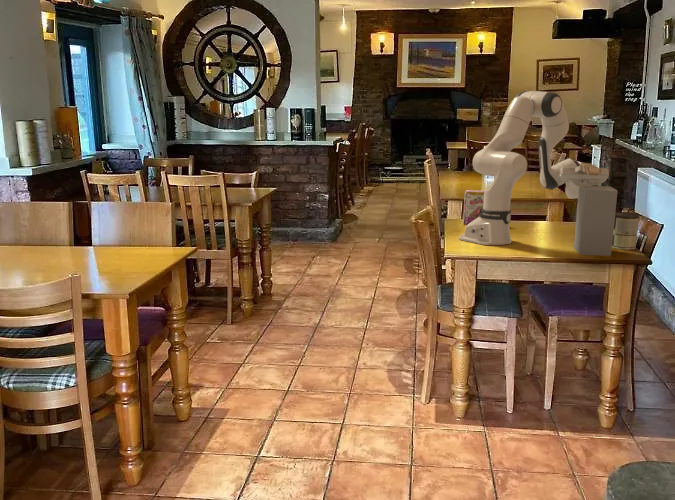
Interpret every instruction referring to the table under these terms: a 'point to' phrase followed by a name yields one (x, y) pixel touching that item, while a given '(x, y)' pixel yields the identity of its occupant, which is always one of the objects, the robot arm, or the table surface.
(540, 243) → the table surface
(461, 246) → the table surface
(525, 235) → the table surface
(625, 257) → the table surface
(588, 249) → the pedestal
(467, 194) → the candy bar box
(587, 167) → the beech bar
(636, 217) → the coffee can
